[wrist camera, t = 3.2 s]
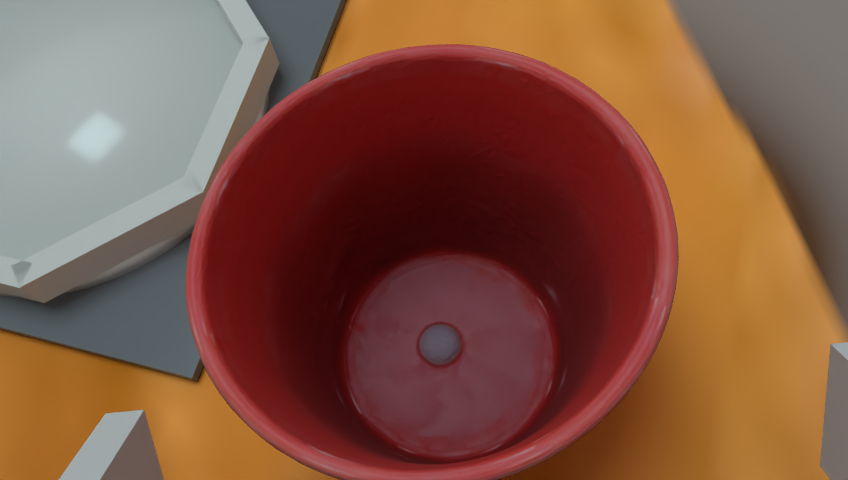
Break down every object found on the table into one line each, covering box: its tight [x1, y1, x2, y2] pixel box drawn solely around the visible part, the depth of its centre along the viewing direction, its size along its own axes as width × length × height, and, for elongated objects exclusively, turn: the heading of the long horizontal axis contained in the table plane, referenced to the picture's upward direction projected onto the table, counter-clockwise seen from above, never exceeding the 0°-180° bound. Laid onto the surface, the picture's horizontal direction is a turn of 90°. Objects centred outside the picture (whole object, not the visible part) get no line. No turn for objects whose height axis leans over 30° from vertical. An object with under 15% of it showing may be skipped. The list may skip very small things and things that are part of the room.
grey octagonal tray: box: [0, 0, 346, 381], centre depth 29 cm, size 18×18×3 cm
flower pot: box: [185, 44, 679, 480], centre depth 21 cm, size 11×11×10 cm
